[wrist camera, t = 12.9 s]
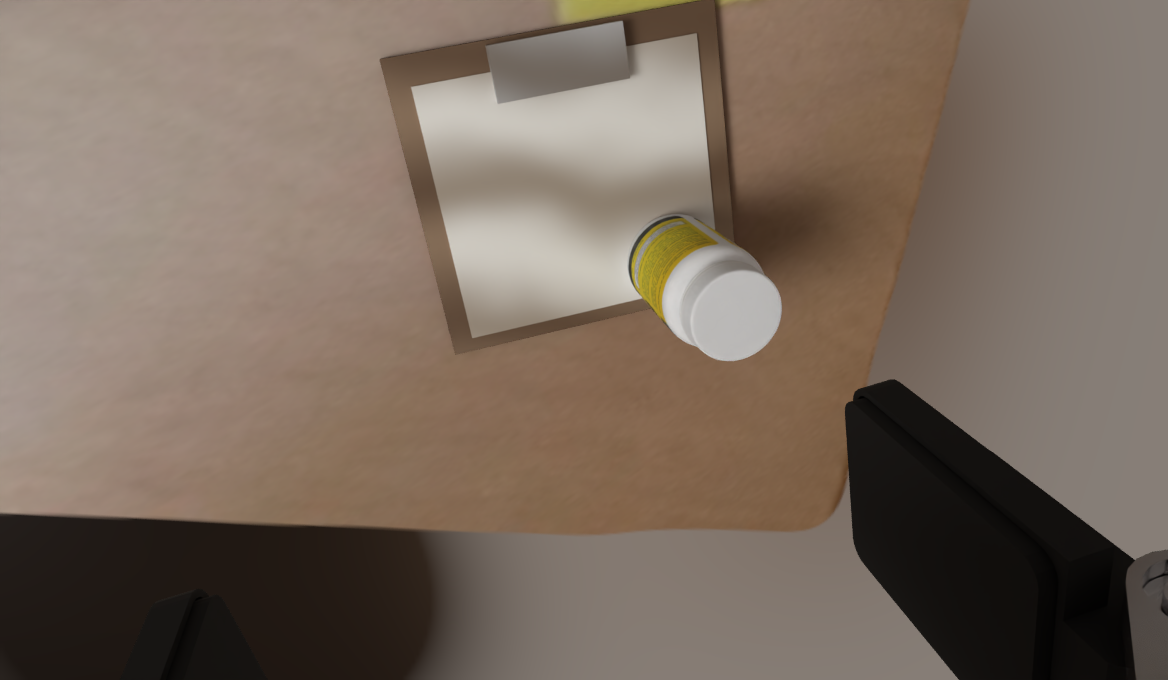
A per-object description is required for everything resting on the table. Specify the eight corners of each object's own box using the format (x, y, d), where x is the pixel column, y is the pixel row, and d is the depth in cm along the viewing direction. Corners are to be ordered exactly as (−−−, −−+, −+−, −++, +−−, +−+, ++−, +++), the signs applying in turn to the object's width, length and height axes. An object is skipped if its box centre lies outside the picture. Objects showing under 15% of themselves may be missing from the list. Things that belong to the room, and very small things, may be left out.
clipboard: (379, 59, 32) (379, 60, 32) (711, -2, 34) (720, -3, 33) (454, 351, 38) (456, 360, 37) (735, 285, 40) (743, 292, 39)
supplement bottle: (615, 295, 38) (667, 362, 31) (638, 204, 37) (698, 251, 29) (701, 309, 40) (771, 376, 32) (727, 221, 38) (807, 270, 31)
